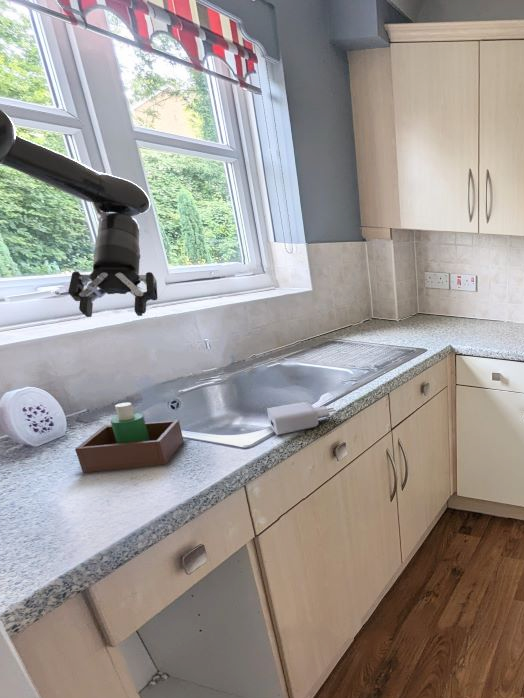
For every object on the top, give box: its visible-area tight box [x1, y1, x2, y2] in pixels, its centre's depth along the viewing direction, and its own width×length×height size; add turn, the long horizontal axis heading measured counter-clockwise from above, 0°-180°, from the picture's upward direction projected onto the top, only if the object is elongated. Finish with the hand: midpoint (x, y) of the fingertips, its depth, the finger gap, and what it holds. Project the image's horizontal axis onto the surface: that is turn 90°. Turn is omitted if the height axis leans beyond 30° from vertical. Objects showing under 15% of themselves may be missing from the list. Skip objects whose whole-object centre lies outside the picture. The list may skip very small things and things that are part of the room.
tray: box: [74, 419, 185, 474], centre depth 96 cm, size 14×12×5 cm
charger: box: [266, 401, 336, 436], centre depth 116 cm, size 5×9×15 cm
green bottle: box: [109, 402, 150, 444], centre depth 95 cm, size 5×5×11 cm
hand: (113, 314), depth 96 cm, fingers open, 8 cm apart
